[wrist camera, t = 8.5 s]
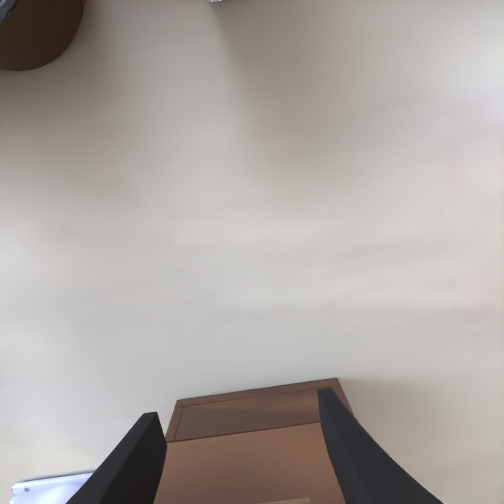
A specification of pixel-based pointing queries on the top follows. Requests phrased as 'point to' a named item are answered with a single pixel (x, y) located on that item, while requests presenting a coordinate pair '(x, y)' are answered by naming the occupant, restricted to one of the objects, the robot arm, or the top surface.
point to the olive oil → (36, 31)
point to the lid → (251, 469)
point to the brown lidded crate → (249, 410)
